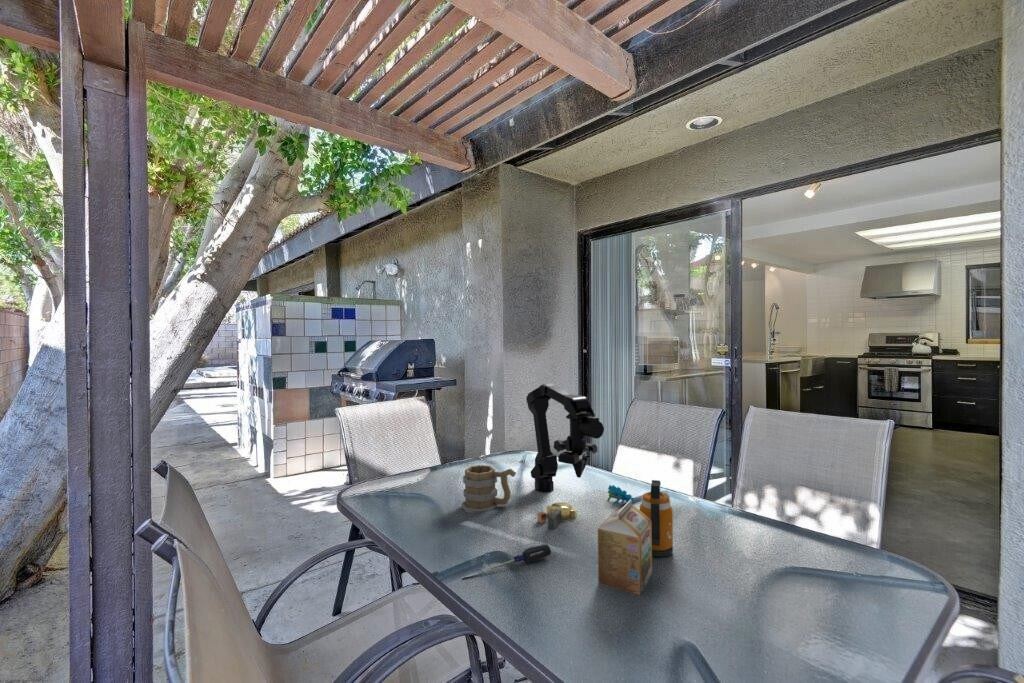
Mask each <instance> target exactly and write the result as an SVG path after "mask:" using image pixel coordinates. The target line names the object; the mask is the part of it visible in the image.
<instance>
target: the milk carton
mask: <svg viewBox="0 0 1024 683" xmlns="http://www.w3.org/2000/svg"><path fill="white" fill-rule="evenodd" d="M597 565H598V566H597V570H598V571H597V572H598V574H597V575H598V576H597V577H598V580H597V582H598V583H597V584H599V583H600V585H603V586H607V587H610V588H613V589H617V590H620V591H624V592H627V593H629V594H630V593H631V594H634V595H638V596H641V595H642V592H643V591H644V589H645V588H646V587H647V584H648V583H649V581H650V579H651V578H652V576H653V555H652V522H651V520H650V519H649V518H648V517H647V516H646V515H645V514H644V513H642V512H641V511H640V508H637V507H636V506H634V505H633V503H632V500H629V501H628V502H626V504H625V505H624V506H622V507H621V508H618V509H616V510H615V511H614V512H612V514H610V515H609V516H608V517H607V519H606V520H604V521H603V523H601V524H600V526H598V528H597Z"/></svg>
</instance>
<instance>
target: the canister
mask: <svg viewBox="0 0 1024 683" xmlns="http://www.w3.org/2000/svg"><path fill="white" fill-rule="evenodd" d="M670 497H671V496H670V495H669V494H668V493H666V492H663V491H661V480H656V479H651V484H650V491H648V492H644V493H643V494H642V496H641V503H640V505H639V510H640V511H641V512H642V513H644V514H645V515H646V516H647V517H648V518H649V519H650V520H651V522H652V557H653V556H654V557H665V556H670V555H671V554H672V553H673V552H674V548H673V547H674V540H673V539H674V538H673V537H674V535H673V534H674V533H673V530H674V528H673V527H674V526H673V524H674V523H673V522H674V521H673V516H674V515H673V507H672V506H671V499H670Z"/></svg>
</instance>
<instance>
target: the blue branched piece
mask: <svg viewBox="0 0 1024 683" xmlns="http://www.w3.org/2000/svg"><path fill="white" fill-rule="evenodd" d="M607 490H608V491H607V493H608V498H607V500H606V501H607V502H610V500H611V499H616V500H615V502H614V504H619V502H620V501H623V502H626V503H627V502H628V501H629V500H632V504H634V501H635V498H634V497H633V495H631V494H630V493H629V494H627V493H628V492H627V491H626V490H622V488H621V487H619V486H615V485H614V484H613V485H611V484H609V485H608V488H607Z"/></svg>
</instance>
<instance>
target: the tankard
mask: <svg viewBox="0 0 1024 683" xmlns="http://www.w3.org/2000/svg"><path fill="white" fill-rule="evenodd" d="M516 474H517V472H516V471H514V470H513V469H512V468H508V469H505V470H503V471H496V469H495V468H494V467H493V466H492V465H485V464H478V465H470V466H468V467H467V468H465V469H464V476H463V477H462V483H463V484H464V489H463V491H462V492H463V494H462V495H463V497H464V498H465V501H463V502H462V503H461V508H462V509H463V511H464V512H465V513H466V512H467V513H466V514H471V513H473V514H474V513H476V512H478V513H479V512H486V511H491V510H494V509H496V507H497V506H501V505H502V506H503V505H504V506H505V505H507V504H508V503H509V501H510V499H511V494H512V493H511V491H512V490H511V489H510V486H509V483H508V476H511V477H512V478H515V476H516ZM498 478H500V484H501V488H502V489H503V492H504V493H503V498H500V497H497V496H498V489H497V488H496V483H497V482H498Z"/></svg>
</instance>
